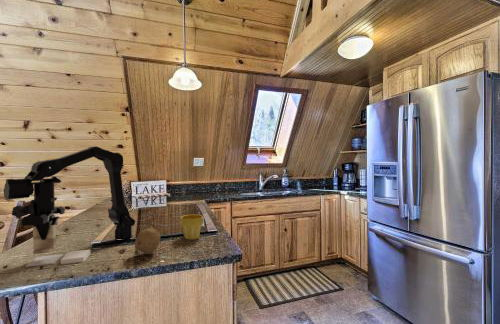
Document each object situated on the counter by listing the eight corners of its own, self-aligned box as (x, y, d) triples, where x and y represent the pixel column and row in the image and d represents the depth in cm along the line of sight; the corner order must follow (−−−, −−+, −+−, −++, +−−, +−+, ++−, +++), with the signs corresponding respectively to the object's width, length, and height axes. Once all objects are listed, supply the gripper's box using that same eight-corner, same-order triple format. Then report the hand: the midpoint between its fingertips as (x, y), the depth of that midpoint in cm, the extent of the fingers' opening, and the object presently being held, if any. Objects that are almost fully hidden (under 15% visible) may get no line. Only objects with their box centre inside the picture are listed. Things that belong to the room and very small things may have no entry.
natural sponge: (134, 260, 91) (134, 233, 91) (135, 252, 99) (134, 227, 99) (161, 256, 94) (160, 230, 94) (159, 248, 103) (159, 224, 103)
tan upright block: (57, 247, 94) (57, 223, 94) (51, 252, 89) (51, 227, 89) (38, 249, 92) (37, 225, 92) (31, 254, 88) (30, 228, 88)
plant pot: (201, 233, 124) (201, 213, 124) (204, 239, 114) (204, 218, 114) (180, 235, 121) (179, 215, 121) (181, 242, 111) (181, 220, 111)
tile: (90, 249, 98) (83, 257, 90) (90, 254, 98) (83, 262, 90) (69, 251, 96) (60, 259, 88) (69, 256, 96) (60, 265, 88)
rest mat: (62, 255, 96) (62, 254, 96) (53, 263, 88) (53, 262, 88) (37, 258, 94) (37, 256, 94) (25, 266, 86) (25, 265, 86)
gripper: (31, 193, 97) (31, 233, 97) (-1, 201, 79) (0, 250, 80) (64, 192, 100) (65, 230, 101) (42, 199, 83) (43, 246, 83)
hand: (45, 238), depth 91 cm, fingers closed on tan upright block
